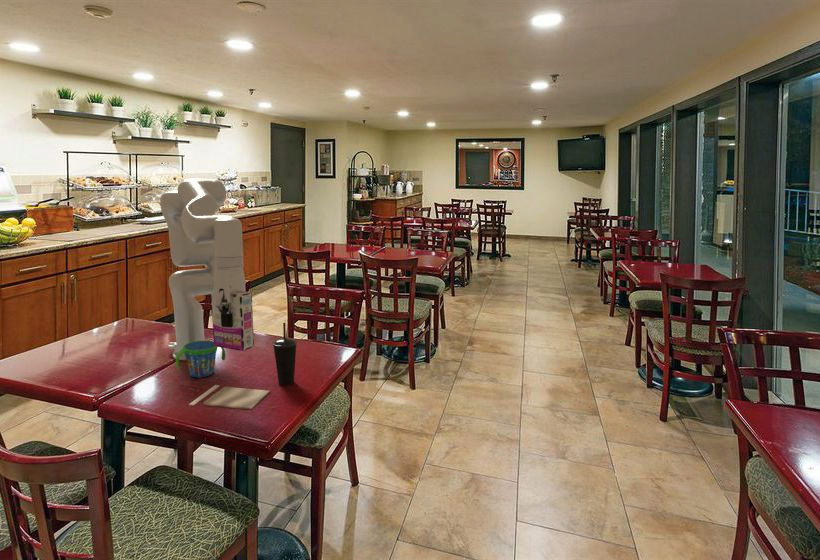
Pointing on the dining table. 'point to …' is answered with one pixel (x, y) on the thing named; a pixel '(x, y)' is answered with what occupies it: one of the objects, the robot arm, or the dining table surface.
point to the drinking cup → (285, 359)
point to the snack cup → (200, 358)
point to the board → (236, 398)
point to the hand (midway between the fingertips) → (232, 323)
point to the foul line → (204, 395)
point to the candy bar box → (234, 323)
